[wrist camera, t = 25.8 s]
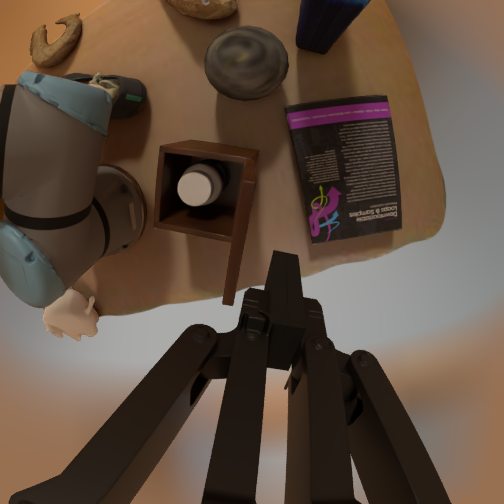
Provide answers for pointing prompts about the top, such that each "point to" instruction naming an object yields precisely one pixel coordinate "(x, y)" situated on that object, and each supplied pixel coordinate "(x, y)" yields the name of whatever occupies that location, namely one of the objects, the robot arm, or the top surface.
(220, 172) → the pill bottle
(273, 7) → the top surface
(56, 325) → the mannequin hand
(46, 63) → the artifact
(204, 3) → the seashell
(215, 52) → the decorative stone
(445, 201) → the top surface
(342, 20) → the blue rectangular carton
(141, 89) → the ballet flat
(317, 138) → the box
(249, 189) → the lid
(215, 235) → the chest
